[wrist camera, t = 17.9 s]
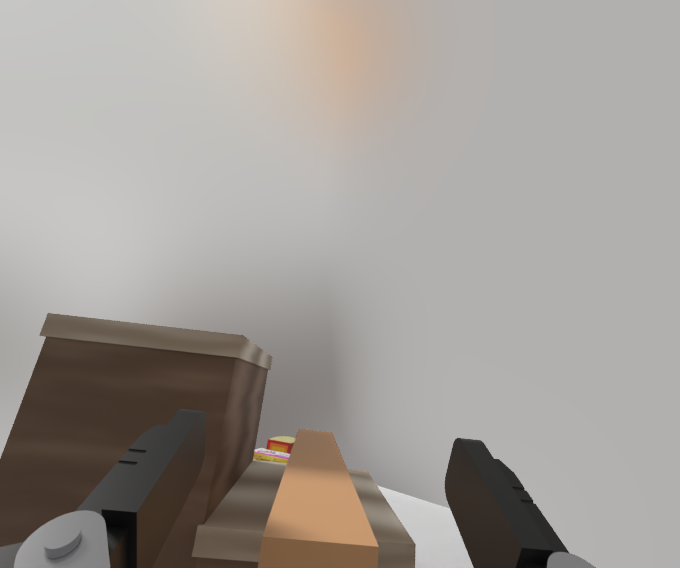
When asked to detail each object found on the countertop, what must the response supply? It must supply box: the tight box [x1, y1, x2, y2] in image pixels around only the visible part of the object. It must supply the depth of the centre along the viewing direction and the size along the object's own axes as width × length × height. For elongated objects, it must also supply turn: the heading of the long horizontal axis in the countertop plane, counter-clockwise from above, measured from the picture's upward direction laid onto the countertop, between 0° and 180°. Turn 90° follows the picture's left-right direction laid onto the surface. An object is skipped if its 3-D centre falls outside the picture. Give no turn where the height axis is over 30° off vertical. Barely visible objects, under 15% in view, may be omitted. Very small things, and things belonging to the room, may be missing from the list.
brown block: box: [258, 429, 379, 568], centre depth 18 cm, size 22×3×3 cm, turn 4°
